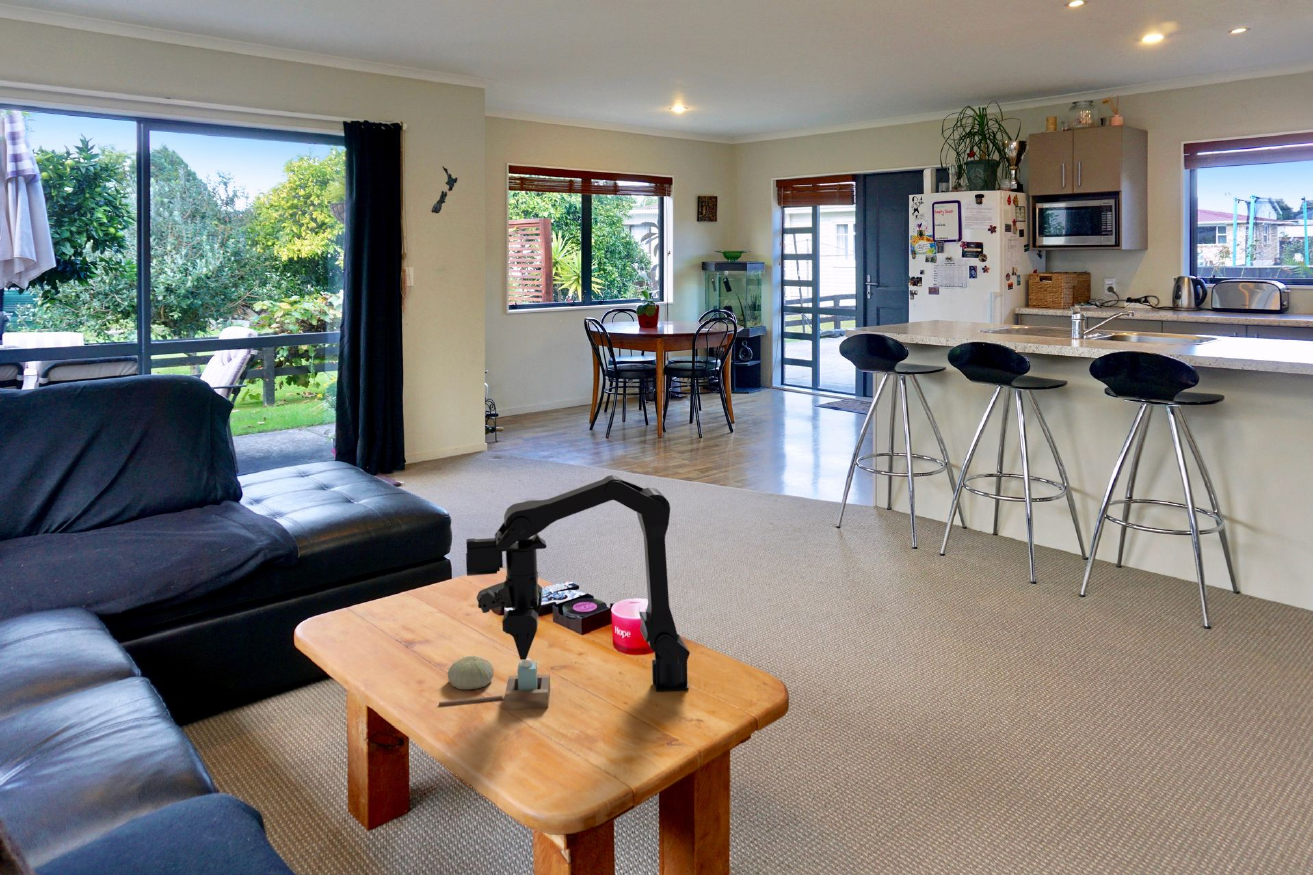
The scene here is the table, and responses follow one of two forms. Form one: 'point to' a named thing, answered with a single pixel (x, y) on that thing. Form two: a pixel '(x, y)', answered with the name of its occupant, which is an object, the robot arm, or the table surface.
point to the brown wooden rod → (470, 700)
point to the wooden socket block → (527, 694)
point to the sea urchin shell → (470, 673)
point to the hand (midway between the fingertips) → (525, 649)
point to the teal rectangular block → (527, 675)
